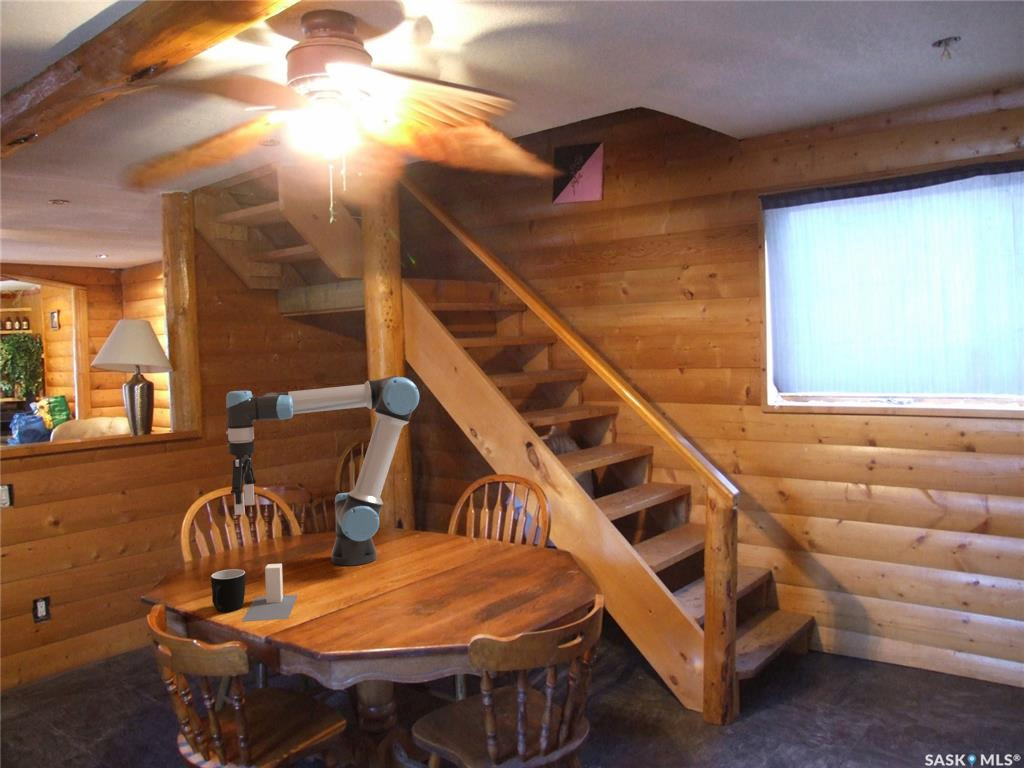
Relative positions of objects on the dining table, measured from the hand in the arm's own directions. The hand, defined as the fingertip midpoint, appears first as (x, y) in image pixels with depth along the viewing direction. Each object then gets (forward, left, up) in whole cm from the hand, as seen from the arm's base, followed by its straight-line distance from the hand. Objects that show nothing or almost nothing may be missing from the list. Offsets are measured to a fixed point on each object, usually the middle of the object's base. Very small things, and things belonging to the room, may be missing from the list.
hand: (245, 509), depth 240 cm
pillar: (-11, +20, -22) cm, 32 cm away
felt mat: (-11, +26, -23) cm, 37 cm away
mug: (+1, +26, -23) cm, 35 cm away
